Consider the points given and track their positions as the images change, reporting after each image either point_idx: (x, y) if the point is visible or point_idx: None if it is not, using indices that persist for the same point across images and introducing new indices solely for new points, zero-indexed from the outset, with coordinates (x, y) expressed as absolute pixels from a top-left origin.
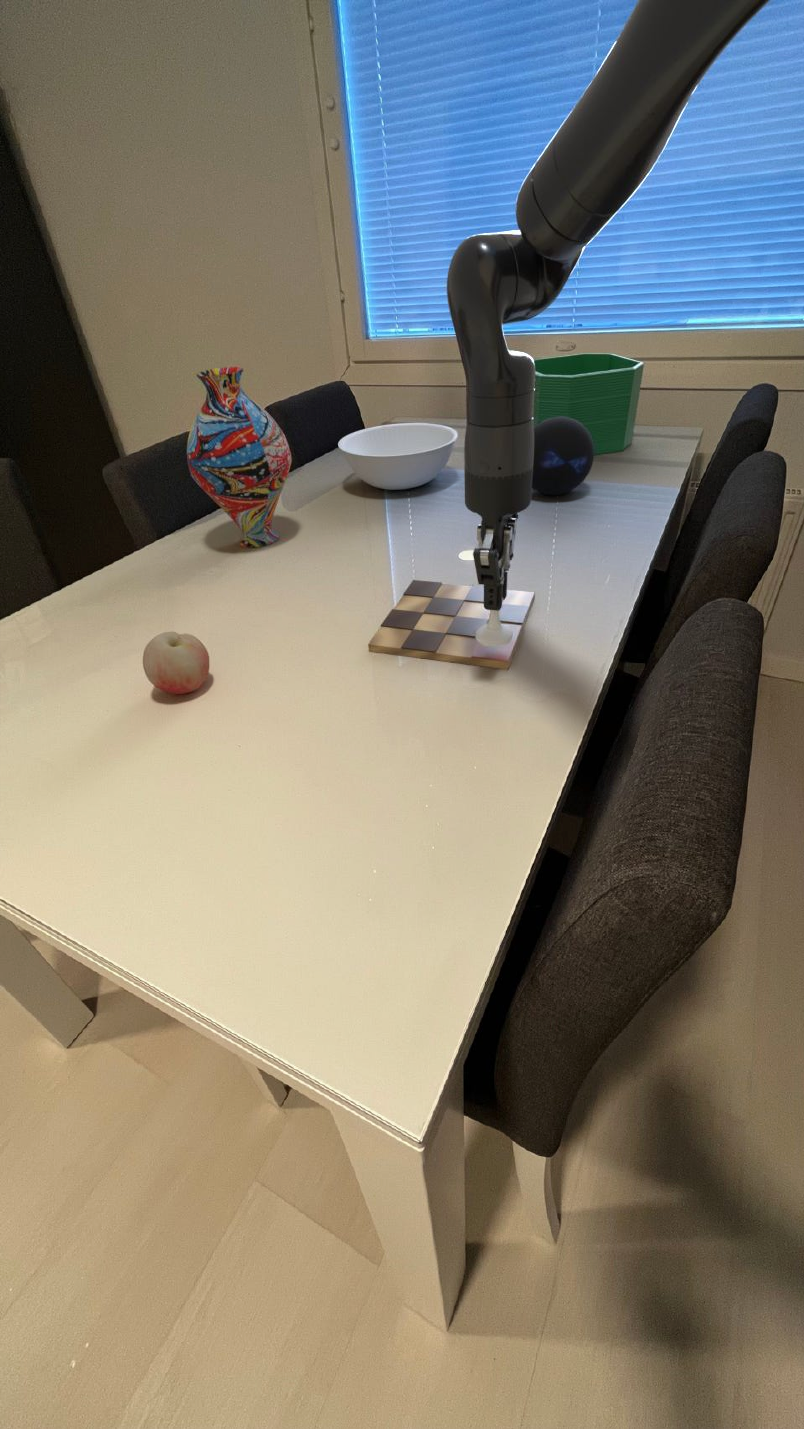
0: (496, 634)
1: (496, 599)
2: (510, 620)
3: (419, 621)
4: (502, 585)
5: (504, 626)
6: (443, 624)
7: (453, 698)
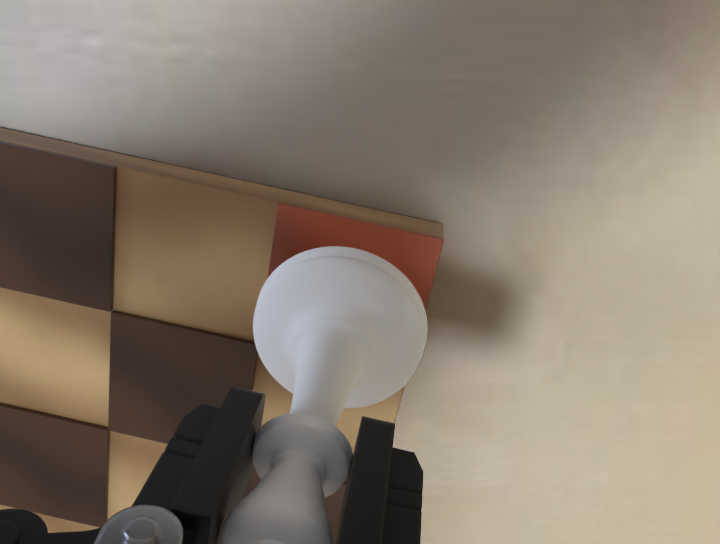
0: (379, 338)
1: (419, 504)
2: (102, 222)
3: None
4: (350, 527)
5: (296, 299)
6: None
7: (625, 411)
